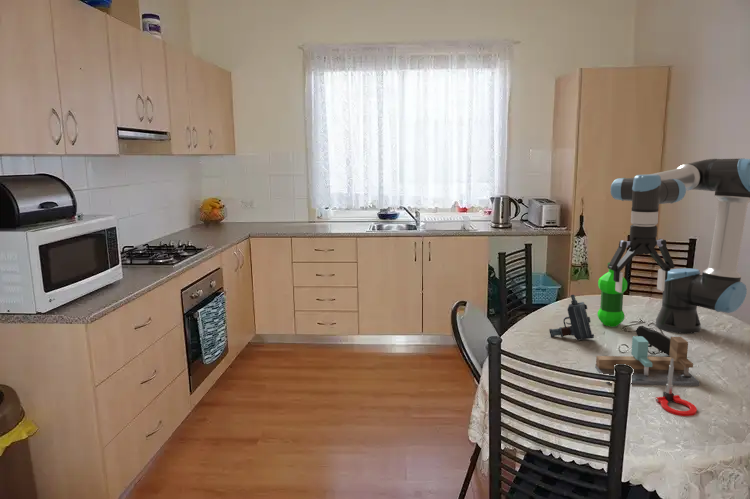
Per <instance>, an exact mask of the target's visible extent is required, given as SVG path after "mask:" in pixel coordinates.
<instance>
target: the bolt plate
mask: <svg viewBox="0 0 750 499" xmlns="http://www.w3.org/2000/svg"><path fill="white" fill-rule="evenodd" d="M595 369H596V371H597V372H598V374H600V373H603V374H609V375H614V369H599V368H598V367H597V365H596V364H595ZM668 371H669V370H655V369H649V371H648V375H647V376H646V375H644V369H634V373H633V375H632V383H631V384H630V385H647V386H666V384H667V381H668ZM605 383H606V384H608V385H613V384H612V383H610V382H605ZM672 385H673V386H695V387H696V386H697V387H698V386H700V381H699V380H698V379H697V378H696V377H695V376H694V375H692V374H691V373H690V372H689V374H688V376H684V370H674V371H673V380H672Z"/></svg>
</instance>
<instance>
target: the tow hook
mask: <svg viewBox="0 0 750 499" xmlns="http://www.w3.org/2000/svg"><path fill="white" fill-rule="evenodd" d="M673 363H674V359H673V358H671V361H670V365H669V371H668V381H667V384H666V385H665V391H663V393H662V396H657V397H655V402H656V403H659V404H660V406H661V408H662V409H663V410H665V411H666V412H667V413H669V414H673V415H677V416H681V417H692V416H694V415H696V414H697V411H698V408H697V406H695V404H694V403H692V402H690V401H687V400H685V399H682V398H681V396H680V395H679V394H677V395H674V393H673V386H674V385H672V380H673V371H674V366H673ZM670 402H674V403H676V404H680V405H683V406H686V407H687V408H689V409H688V410H678V409H675V408H673V407H671V406H669V403H670Z"/></svg>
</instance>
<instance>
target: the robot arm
mask: <svg viewBox="0 0 750 499" xmlns="http://www.w3.org/2000/svg"><path fill="white" fill-rule="evenodd" d="M692 190H694V191H706V192H714V197H715V199H716V200H717V201H718V202H717V203H718V204H717V209H716V215H715V223H714V229H713V235H712V242H711V246H710V247H711V249H710V253H709V261H708V266H707V268H705V269H704V270H702V274H701V271H700V269H698V268H688V267H687V268H683V267H682V268H675V266H676V265H675V263H674V261H673V258H672V256H671V254H670V252H669V250H668V247H667V240H666V239H663V238H659V239H657V236H658V226H657V225H658V222H659V208H660V205H662V204H674V203H677V202H681V200H683V198H684V197H685V196H686V192H687V191H692ZM610 195H611V196H612V199H614V200H617V201H622V202H624V201H629V202H631V211H630V212H631V213H630V223H631V224H630V227H629V228H630V229H629V241H627V240H623V239H621V240H619V241H618V242H619V243H618V247H617V249H616V250H615V253H614V255H613V257H612V258H611V260H610V261H609V262H610V263H609V262H608V263H609V265H608V264H607V266H608V268H607V269H608V270H609V269H610V270H613V271H614V276H613V280H614V281H615V282H616V285H615V291H617V292H619V293H622V280H623V277H624V272H623V271H622V270H623V269H624V268H625V267H626V266H627V264H628V263H629V262H630V261H631V260H632V259H633V258H634V257H636V256H637V255H640V256H641V255H650V256H651V257H652V259H653V260H654V262H655V263H656V264H657V265H658V266H659V267H660V268H659V269H658V270H657V282H656V283H657V284H656V290H658V291H661V292H662V297H661V298H662V301H661V308H660V310H659V312H658V314H657V316H656V318H655V327H656V328H657V329H660V330H662V331H666V332H669V333H674V334H675V333H676V334H683V335H688V334H689V335H690V334H697V333H700V332H701V327H702V326H701V322H700V321H701V320H700V317H699V313H698V309H697V308H698V307H699V308H704V309H708V310H712V311H715V312H717V313H719V312H721V313H725V314H726V313H727V314H731V313H734V312H737V310H739V308H740V307H741V306H742V304H744V301H745V299H746V296H747V291H748V290H747V285H746V284H745V283H744V282H742V281H741V280H742V275H740V273H739V272H738V266H739V265H738V264H739V259H740V253H741V248H742V247H741V246H742V241H743V235H744V230H745V222H746V216H747V211H748V204H749V203H750V158H744V157H743V158H741V157H740V158H708V159H703V160H698V161H693V162H689V163H684V164H682V165H680V166H678V167H677V168H674V169H669V170H665V171H660V172H655V173H650V174H636V175H635V176H634V177H631V178H628V177H627V178H626V177H620V178H616V179H614V180H613V182H612V183H611V184H610ZM656 246H657V247H658V250H659V251H660V254H661V256H660V255H659V253H658V251H657V250H656V249H655V247H656ZM627 248H629V249H628V250H626V249H627ZM625 251H626V253H625ZM624 253H625V254H624Z"/></svg>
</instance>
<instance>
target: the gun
mask: <svg viewBox="0 0 750 499" xmlns="http://www.w3.org/2000/svg"><path fill="white" fill-rule="evenodd" d="M570 297H571V302H570V304H568V306H567V314H568V316H566V317H564V318H563V325H564V326H562V327H561V326H559V328H549V330H548V331H549V334H550V337H551V338H552V337H555V336H560V337H561V338H563V337H566V336H572V337H574V338H575V340H577V341H582V340H590V339H594V338H595V337H594V336H595V334H594V333H592V329H591V325H590V323H591V318H590V316H588V313H587V310H588V305H587V304H585V302H584V301H581V302H578V300H577V299H576V295H575V294H571V295H570ZM568 319H569V322H565V321H566V320H568ZM566 324H567V325H569V326H567V325H566Z"/></svg>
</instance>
